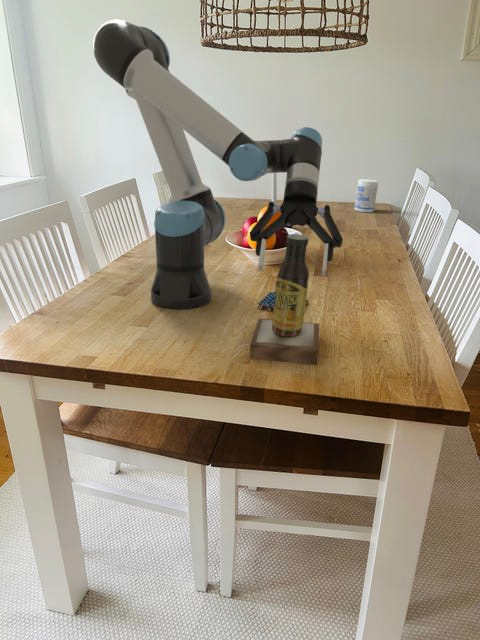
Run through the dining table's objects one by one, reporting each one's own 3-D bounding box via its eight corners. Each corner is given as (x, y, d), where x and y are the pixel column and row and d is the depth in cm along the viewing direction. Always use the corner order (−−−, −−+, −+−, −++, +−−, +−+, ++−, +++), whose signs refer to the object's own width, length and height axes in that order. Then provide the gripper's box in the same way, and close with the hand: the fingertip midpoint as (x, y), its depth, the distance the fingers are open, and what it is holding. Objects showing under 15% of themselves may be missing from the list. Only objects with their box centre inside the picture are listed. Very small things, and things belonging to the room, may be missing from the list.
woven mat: (298, 318, 116) (299, 310, 115) (256, 311, 119) (256, 303, 118) (309, 304, 125) (310, 296, 124) (270, 297, 128) (270, 290, 127)
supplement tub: (352, 211, 239) (356, 180, 233) (355, 208, 247) (359, 178, 241) (373, 213, 236) (377, 182, 230) (375, 210, 244) (379, 179, 238)
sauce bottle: (265, 332, 99) (271, 235, 91) (282, 323, 103) (289, 230, 95) (292, 342, 95) (301, 242, 87) (309, 331, 100) (318, 236, 92)
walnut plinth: (249, 358, 95) (250, 343, 94) (257, 330, 107) (258, 317, 106) (316, 364, 94) (318, 349, 93) (317, 336, 106) (318, 322, 104)
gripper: (354, 201, 114) (349, 283, 106) (249, 195, 118) (236, 274, 110) (358, 181, 107) (353, 267, 99) (246, 175, 111) (232, 257, 103)
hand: (291, 270), depth 105 cm, fingers open, 13 cm apart
